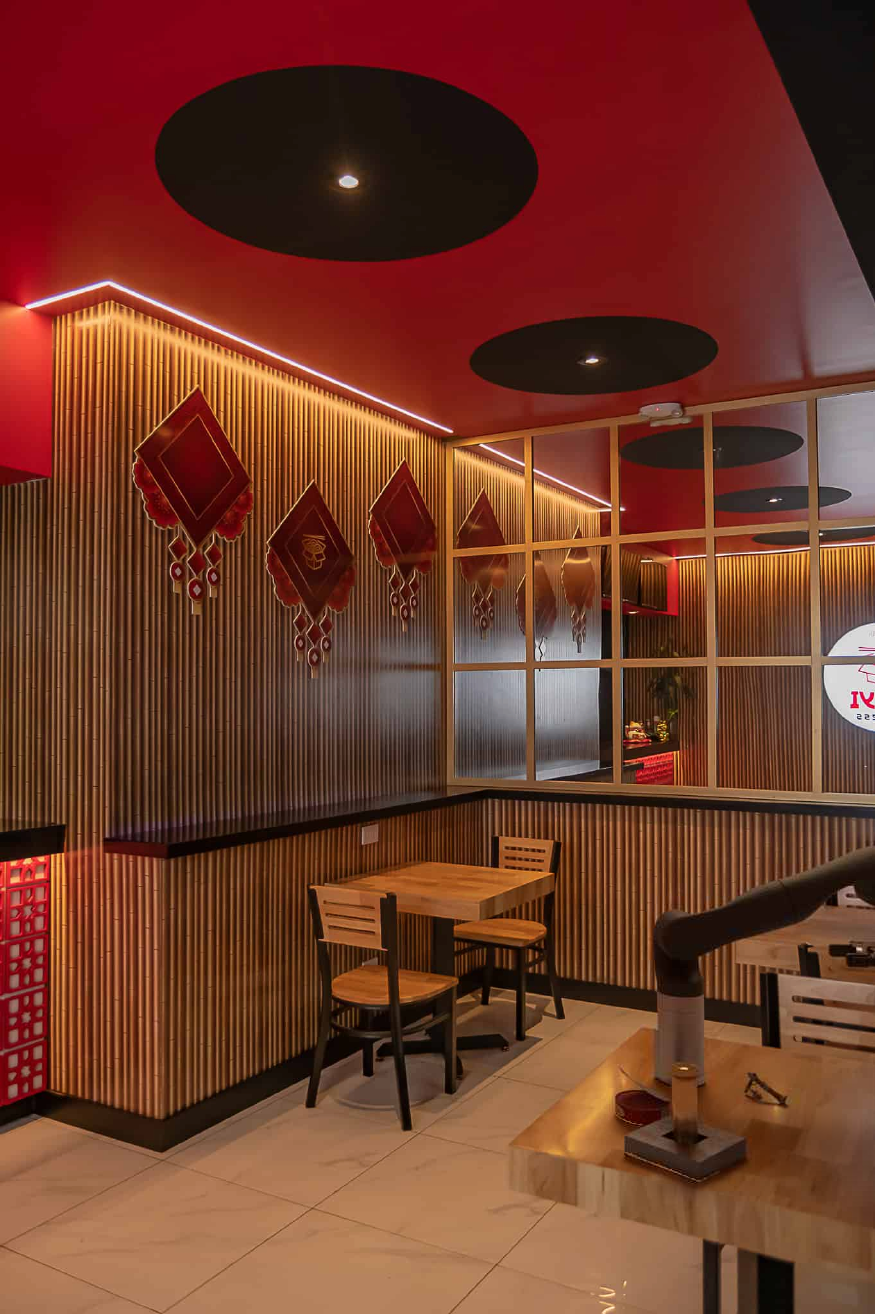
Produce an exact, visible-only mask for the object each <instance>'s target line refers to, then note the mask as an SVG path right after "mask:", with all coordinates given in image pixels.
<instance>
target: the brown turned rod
mask: <svg viewBox="0 0 875 1314" xmlns="http://www.w3.org/2000/svg"><path fill="white" fill-rule="evenodd" d="M747 1076H748V1078H749V1081H748V1083H747V1085H746V1086H745V1088H744V1091H743V1093H745V1094H748V1092H749V1091H750V1093H752V1097H753V1096H754V1097H755V1098H756V1099H759V1100H762V1099H763V1095H762V1093H760V1092H759V1091H758V1089H756V1090H754V1089H752V1088H751V1087H752V1086H755V1085H758V1086H759V1088H761V1089H762V1090H764V1091H765V1092H766V1093H768V1094H770V1095H771V1096H772V1097H773V1098H774V1099H775V1100H777V1102H778V1106H781V1105H782V1104H785V1103H786V1101H787V1098H788V1097H789V1096H788V1095H787V1094H785V1095H783V1094H782V1093H779V1092H778V1091H776V1090H774V1089H773V1088H772V1087H771V1086H770V1085H769V1084H768V1083H766V1082H765V1081H763V1080H761V1079H760V1078H759V1076H758V1074H757V1073H756V1072H753V1071H752V1072H751V1071H748V1072H747ZM754 1082H755V1083H754Z"/></svg>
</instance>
